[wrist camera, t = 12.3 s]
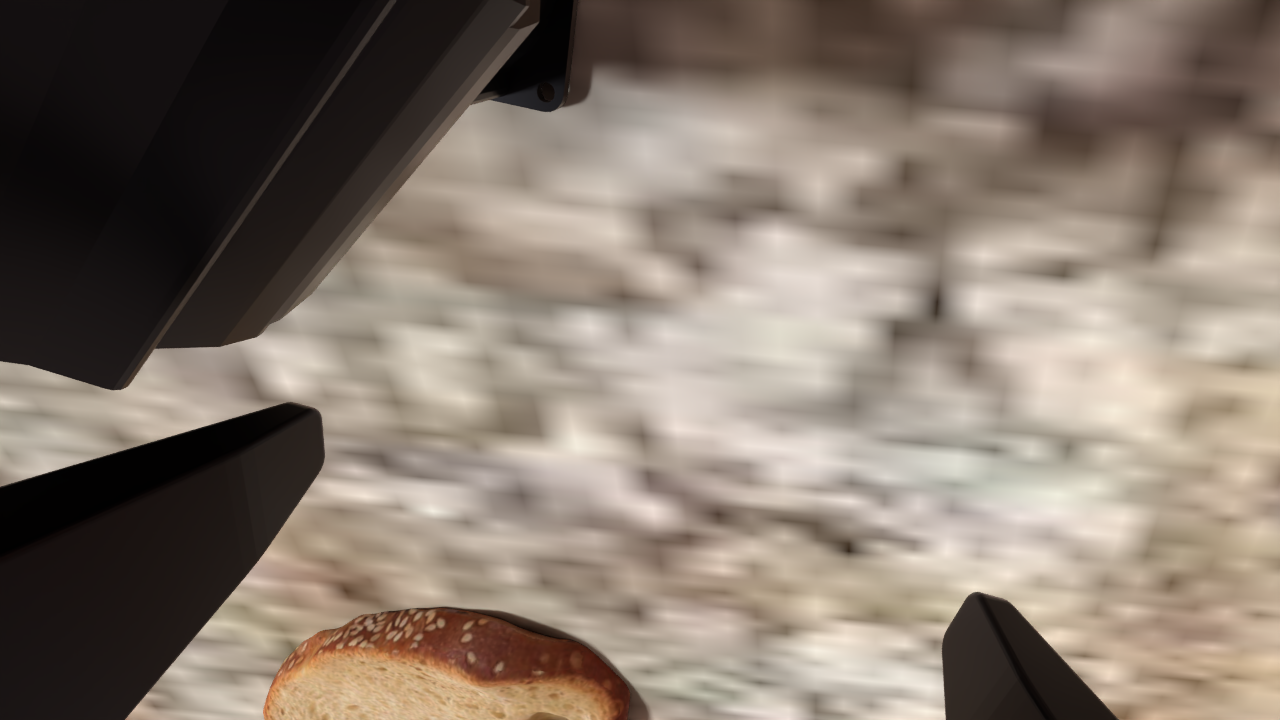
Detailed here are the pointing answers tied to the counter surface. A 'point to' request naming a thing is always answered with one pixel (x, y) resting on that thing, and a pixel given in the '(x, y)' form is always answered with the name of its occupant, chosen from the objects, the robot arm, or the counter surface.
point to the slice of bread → (443, 673)
